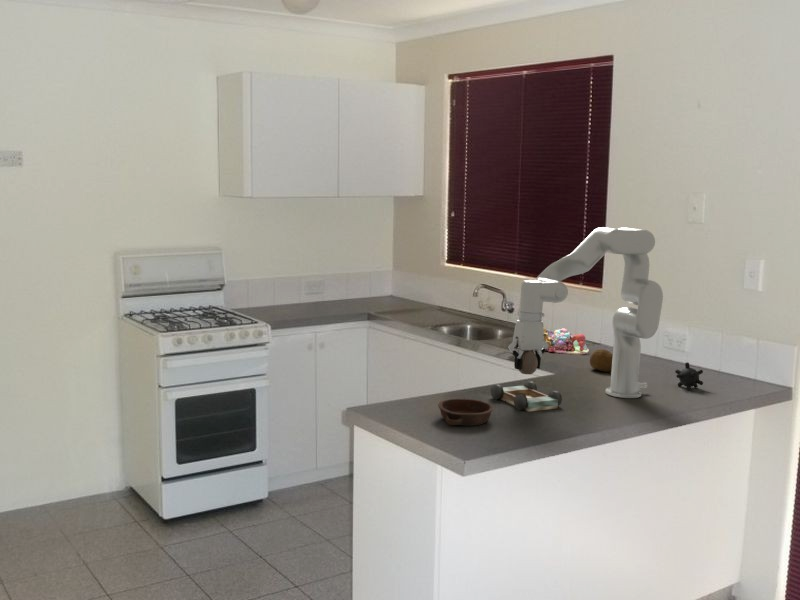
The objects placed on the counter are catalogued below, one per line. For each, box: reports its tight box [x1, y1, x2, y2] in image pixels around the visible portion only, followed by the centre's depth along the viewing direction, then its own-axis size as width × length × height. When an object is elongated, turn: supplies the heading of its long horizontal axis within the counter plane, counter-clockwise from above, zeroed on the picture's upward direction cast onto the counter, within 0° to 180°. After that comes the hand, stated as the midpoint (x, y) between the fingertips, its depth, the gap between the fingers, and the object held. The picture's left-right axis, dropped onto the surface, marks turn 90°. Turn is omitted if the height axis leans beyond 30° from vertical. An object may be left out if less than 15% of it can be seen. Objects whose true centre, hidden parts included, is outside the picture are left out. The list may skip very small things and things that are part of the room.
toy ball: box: [674, 361, 704, 391], centre depth 326 cm, size 10×10×11 cm
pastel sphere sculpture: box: [544, 327, 590, 355], centre depth 392 cm, size 25×24×9 cm
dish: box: [437, 398, 495, 427], centre depth 273 cm, size 18×22×5 cm
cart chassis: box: [490, 380, 563, 413], centre depth 297 cm, size 16×20×5 cm
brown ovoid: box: [518, 350, 538, 375], centre depth 295 cm, size 7×7×9 cm
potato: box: [589, 349, 613, 373], centre depth 349 cm, size 8×12×9 cm
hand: (527, 368), depth 295 cm, fingers closed on brown ovoid, 7 cm apart
